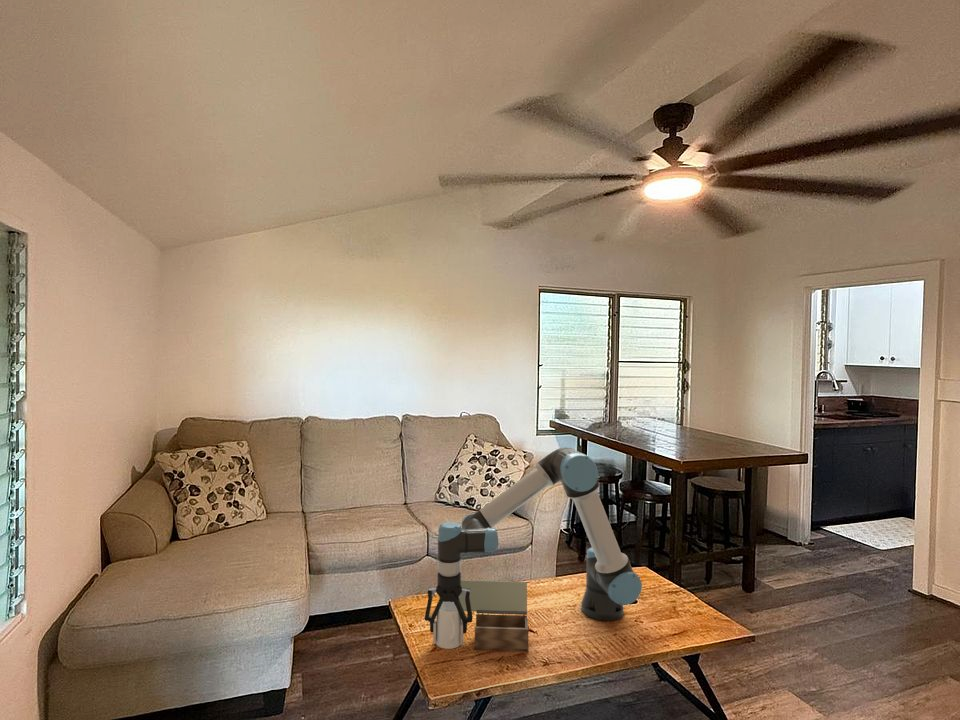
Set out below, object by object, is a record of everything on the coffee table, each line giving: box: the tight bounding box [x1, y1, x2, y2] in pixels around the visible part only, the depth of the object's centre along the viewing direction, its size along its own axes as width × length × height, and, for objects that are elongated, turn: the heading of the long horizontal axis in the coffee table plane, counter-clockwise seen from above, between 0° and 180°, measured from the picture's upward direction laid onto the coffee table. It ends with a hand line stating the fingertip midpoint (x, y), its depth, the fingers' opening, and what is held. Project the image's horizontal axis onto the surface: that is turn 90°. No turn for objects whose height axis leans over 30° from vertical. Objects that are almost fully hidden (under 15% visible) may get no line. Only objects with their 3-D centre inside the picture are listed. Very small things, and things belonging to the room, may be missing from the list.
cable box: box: [474, 613, 529, 652], centre depth 172 cm, size 17×9×7 cm, turn 88°
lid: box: [459, 579, 528, 616], centre depth 180 cm, size 24×10×2 cm
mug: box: [435, 601, 462, 650], centre depth 171 cm, size 12×8×12 cm
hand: (448, 642), depth 171 cm, fingers closed on mug, 8 cm apart
